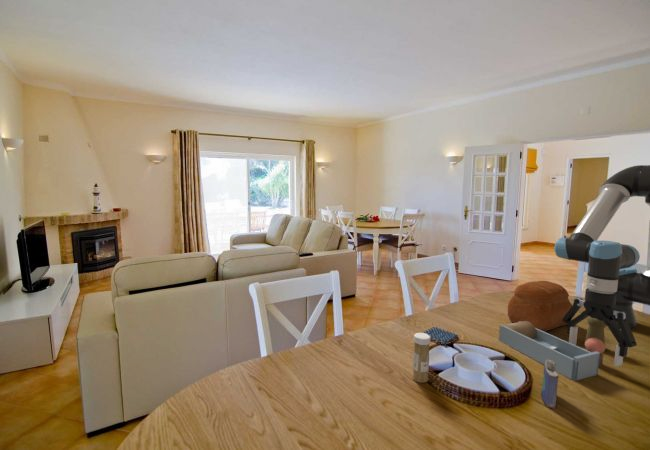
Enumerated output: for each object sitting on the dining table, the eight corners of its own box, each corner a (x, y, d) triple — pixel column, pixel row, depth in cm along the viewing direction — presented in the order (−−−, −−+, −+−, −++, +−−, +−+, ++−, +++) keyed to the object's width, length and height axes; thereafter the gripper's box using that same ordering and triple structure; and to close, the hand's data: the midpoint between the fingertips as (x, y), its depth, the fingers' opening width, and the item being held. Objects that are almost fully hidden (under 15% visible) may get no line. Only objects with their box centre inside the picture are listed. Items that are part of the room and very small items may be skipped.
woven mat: (445, 348, 118) (446, 343, 117) (419, 338, 126) (419, 333, 125) (460, 339, 124) (460, 334, 124) (434, 330, 132) (434, 325, 132)
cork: (609, 352, 115) (612, 321, 113) (589, 350, 116) (592, 319, 115) (598, 343, 121) (602, 314, 119) (579, 342, 122) (582, 313, 120)
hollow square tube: (590, 359, 110) (591, 349, 109) (602, 364, 107) (603, 354, 106) (583, 361, 109) (584, 351, 108) (595, 366, 106) (596, 356, 105)
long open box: (519, 336, 126) (520, 317, 125) (597, 374, 101) (600, 351, 100) (498, 340, 123) (500, 320, 122) (574, 381, 98) (577, 356, 97)
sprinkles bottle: (428, 384, 96) (430, 340, 94) (411, 381, 97) (413, 337, 95) (428, 375, 100) (430, 333, 98) (412, 373, 101) (414, 331, 100)
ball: (590, 348, 110) (592, 334, 110) (607, 355, 106) (609, 340, 105) (580, 350, 109) (582, 336, 108) (597, 358, 104) (599, 343, 103)
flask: (556, 410, 85) (559, 370, 84) (542, 406, 87) (546, 367, 85) (552, 390, 93) (555, 354, 92) (539, 387, 95) (542, 351, 93)
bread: (575, 325, 136) (579, 285, 134) (544, 336, 127) (548, 293, 125) (532, 311, 152) (535, 275, 150) (502, 319, 142) (505, 281, 140)
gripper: (553, 280, 115) (548, 339, 118) (641, 305, 92) (632, 377, 94) (568, 278, 118) (563, 336, 120) (658, 302, 94) (648, 372, 97)
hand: (593, 354), depth 107 cm, fingers open, 13 cm apart
